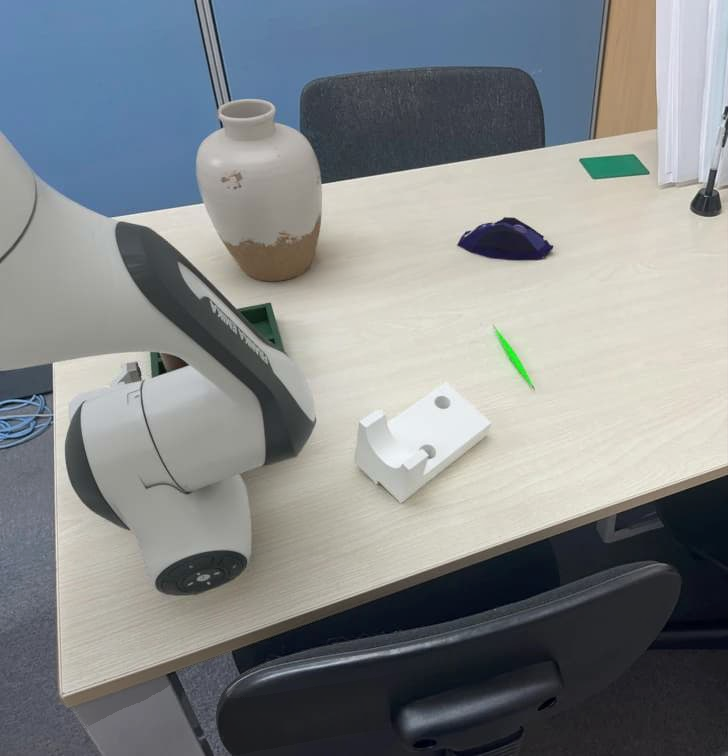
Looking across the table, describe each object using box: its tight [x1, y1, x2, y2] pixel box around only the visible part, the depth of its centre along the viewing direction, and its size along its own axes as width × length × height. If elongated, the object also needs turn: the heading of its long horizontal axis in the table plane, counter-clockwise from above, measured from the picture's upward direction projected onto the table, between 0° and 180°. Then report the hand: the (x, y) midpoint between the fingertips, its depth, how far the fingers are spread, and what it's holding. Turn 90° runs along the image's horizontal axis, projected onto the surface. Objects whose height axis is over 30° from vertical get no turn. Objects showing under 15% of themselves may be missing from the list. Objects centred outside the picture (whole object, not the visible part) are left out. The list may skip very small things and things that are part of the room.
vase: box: [195, 98, 323, 282], centre depth 97 cm, size 16×16×23 cm
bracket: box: [353, 381, 492, 504], centre depth 74 cm, size 13×7×8 cm, turn 139°
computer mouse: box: [456, 216, 554, 261], centre depth 109 cm, size 9×15×4 cm, turn 74°
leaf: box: [492, 324, 535, 389], centre depth 89 cm, size 1×14×1 cm, turn 23°
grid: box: [149, 302, 285, 378], centre depth 86 cm, size 15×15×3 cm
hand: (178, 357), depth 77 cm, fingers open, 8 cm apart
